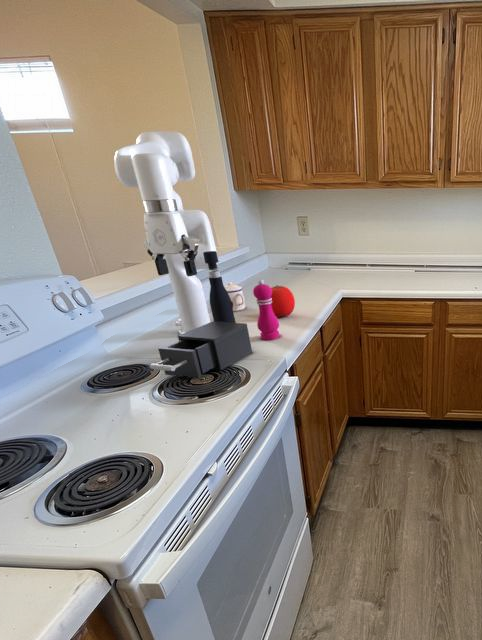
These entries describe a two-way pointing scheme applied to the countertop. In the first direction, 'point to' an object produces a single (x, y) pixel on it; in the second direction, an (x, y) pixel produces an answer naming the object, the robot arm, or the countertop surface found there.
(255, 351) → the countertop surface
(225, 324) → the cabinet
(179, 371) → the drawer
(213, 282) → the wine bottle
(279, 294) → the tomato
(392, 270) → the countertop surface
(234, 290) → the teacup with lid
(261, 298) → the pepper mill
